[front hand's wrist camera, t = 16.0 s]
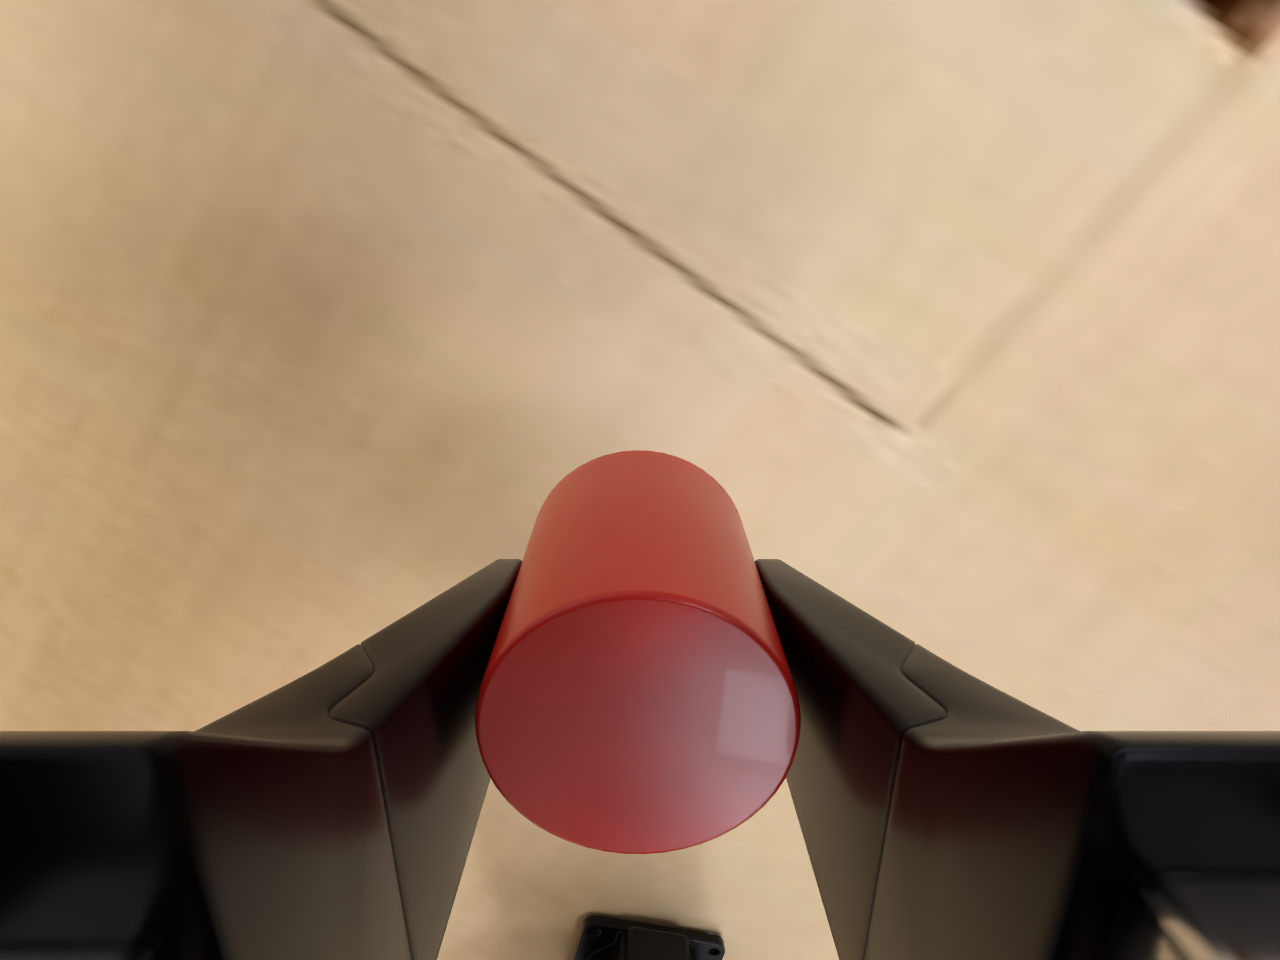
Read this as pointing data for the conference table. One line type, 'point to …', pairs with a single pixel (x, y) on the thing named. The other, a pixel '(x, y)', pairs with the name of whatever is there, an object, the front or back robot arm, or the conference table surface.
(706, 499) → the can
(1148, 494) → the conference table surface
